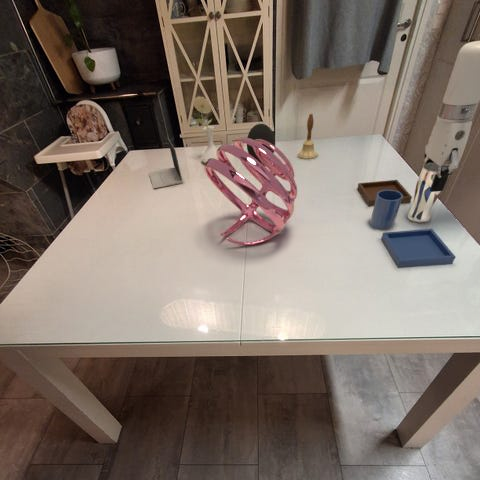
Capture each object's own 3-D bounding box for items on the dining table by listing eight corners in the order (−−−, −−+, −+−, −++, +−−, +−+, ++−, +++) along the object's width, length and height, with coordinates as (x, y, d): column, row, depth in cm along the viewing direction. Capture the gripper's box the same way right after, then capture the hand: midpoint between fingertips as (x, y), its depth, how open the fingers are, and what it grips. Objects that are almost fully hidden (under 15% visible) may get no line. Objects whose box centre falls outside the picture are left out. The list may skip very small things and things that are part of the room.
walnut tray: (395, 185, 108) (397, 179, 107) (410, 203, 99) (412, 196, 97) (357, 188, 109) (358, 183, 107) (368, 206, 100) (369, 200, 98)
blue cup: (389, 217, 94) (397, 188, 88) (396, 228, 90) (406, 199, 83) (367, 218, 95) (374, 190, 88) (373, 230, 90) (381, 201, 83)
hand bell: (318, 152, 136) (322, 111, 124) (314, 159, 131) (318, 117, 119) (300, 152, 139) (302, 111, 127) (296, 158, 134) (298, 117, 122)
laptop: (149, 174, 136) (139, 143, 127) (175, 168, 138) (168, 137, 129) (154, 189, 124) (143, 156, 115) (183, 183, 126) (175, 149, 117)
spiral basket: (194, 208, 68) (271, 105, 64) (169, 193, 90) (225, 117, 87) (269, 274, 84) (334, 195, 81) (233, 248, 107) (282, 185, 103)
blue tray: (429, 235, 86) (432, 228, 84) (452, 263, 77) (455, 256, 75) (381, 238, 87) (382, 232, 85) (398, 267, 77) (400, 260, 76)
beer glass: (405, 222, 91) (422, 171, 80) (406, 211, 95) (422, 161, 84) (431, 224, 89) (452, 172, 78) (430, 213, 93) (450, 162, 82)
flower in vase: (230, 159, 140) (223, 94, 122) (213, 167, 135) (203, 100, 117) (211, 154, 147) (201, 92, 129) (194, 162, 142) (182, 98, 123)
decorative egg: (269, 169, 128) (268, 129, 117) (243, 166, 133) (240, 128, 122) (279, 158, 136) (279, 120, 125) (254, 156, 140) (252, 119, 129)
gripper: (494, 118, 66) (459, 197, 79) (455, 100, 77) (430, 171, 90) (458, 123, 66) (429, 200, 79) (425, 104, 78) (404, 174, 91)
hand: (430, 184), depth 85 cm, fingers closed on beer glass, 7 cm apart
